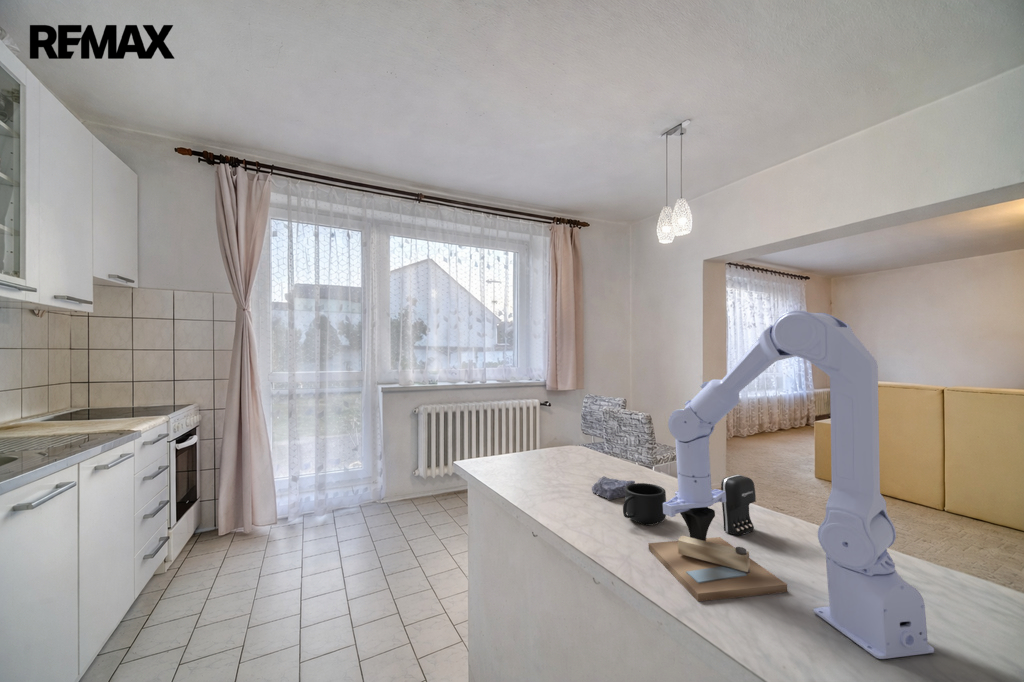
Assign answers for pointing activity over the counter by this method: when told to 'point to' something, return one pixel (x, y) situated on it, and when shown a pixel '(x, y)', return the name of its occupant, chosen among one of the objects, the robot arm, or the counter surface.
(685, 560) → the board
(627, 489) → the mug
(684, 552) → the leg
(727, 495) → the battery charger
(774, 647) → the counter surface
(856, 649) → the counter surface
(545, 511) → the counter surface
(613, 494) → the rock
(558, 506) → the counter surface
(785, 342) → the robot arm
